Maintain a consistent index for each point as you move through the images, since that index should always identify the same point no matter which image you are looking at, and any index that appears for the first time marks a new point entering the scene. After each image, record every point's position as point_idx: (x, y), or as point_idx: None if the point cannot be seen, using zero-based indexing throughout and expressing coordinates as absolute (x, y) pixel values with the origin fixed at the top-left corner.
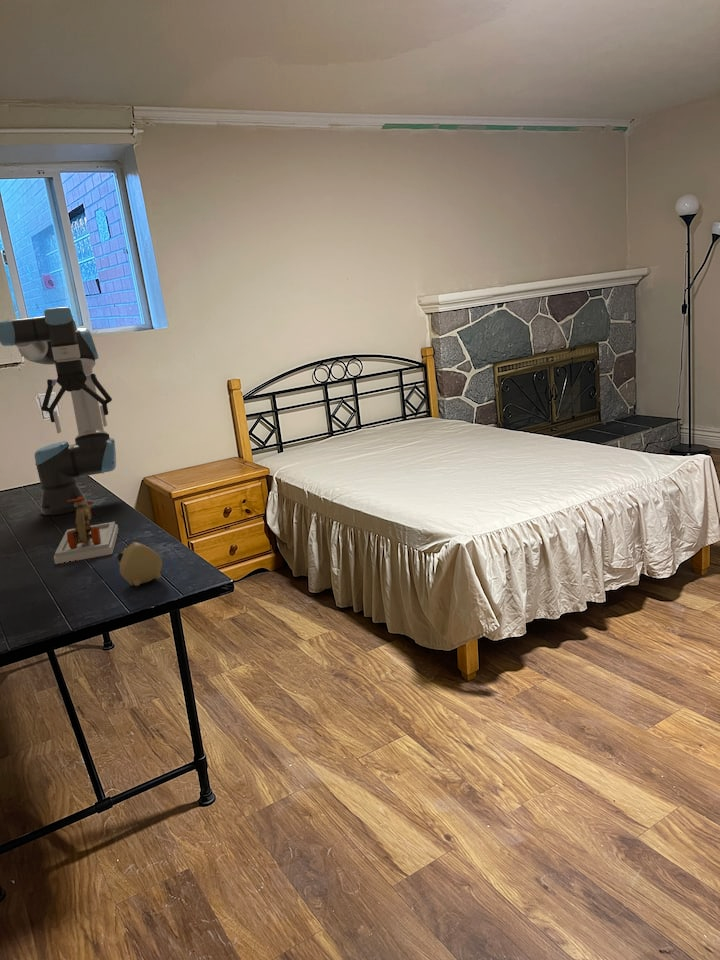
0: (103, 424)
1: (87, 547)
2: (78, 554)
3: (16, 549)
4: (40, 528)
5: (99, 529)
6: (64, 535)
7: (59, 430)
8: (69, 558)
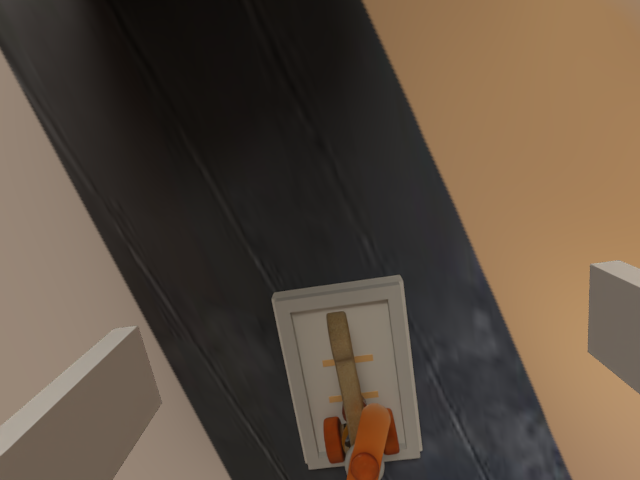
0: (606, 365)
1: None
2: None
3: (162, 317)
4: (143, 147)
5: (360, 307)
6: (285, 350)
7: (150, 418)
8: None
